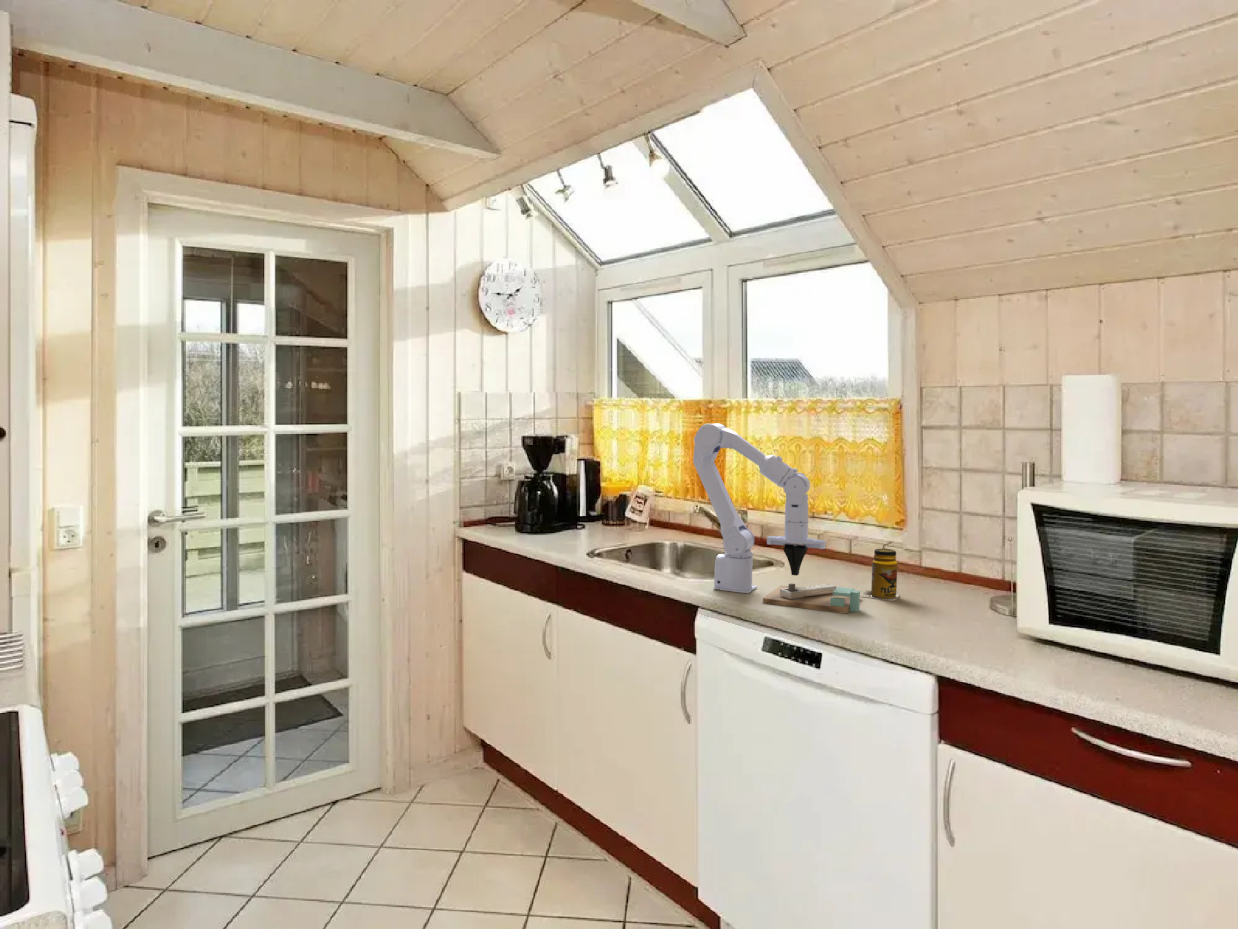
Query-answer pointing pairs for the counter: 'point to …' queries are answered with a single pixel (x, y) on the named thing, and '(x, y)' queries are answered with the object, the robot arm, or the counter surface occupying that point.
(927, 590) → the counter surface
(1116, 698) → the counter surface
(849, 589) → the keeper
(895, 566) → the condiment
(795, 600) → the board
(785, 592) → the link
